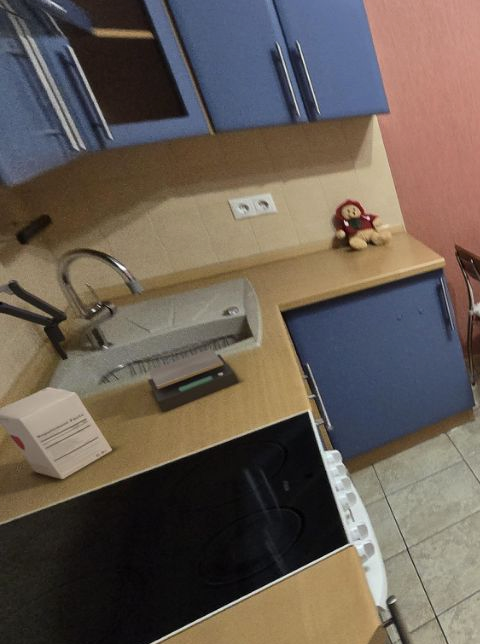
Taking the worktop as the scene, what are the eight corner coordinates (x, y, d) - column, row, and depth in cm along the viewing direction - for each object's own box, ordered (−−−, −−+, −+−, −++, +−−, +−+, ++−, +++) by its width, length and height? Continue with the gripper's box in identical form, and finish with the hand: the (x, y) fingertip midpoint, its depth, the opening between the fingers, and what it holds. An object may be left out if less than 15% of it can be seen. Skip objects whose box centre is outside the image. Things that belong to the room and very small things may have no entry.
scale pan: (150, 373, 131) (148, 370, 130) (212, 351, 139) (211, 348, 139) (157, 389, 123) (156, 386, 123) (223, 364, 132) (222, 362, 131)
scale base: (153, 390, 132) (146, 378, 131) (224, 363, 142) (218, 352, 141) (163, 412, 123) (157, 400, 121) (239, 382, 133) (233, 370, 131)
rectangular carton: (33, 473, 106) (-12, 412, 100) (87, 443, 114) (48, 385, 108) (61, 480, 103) (16, 418, 97) (114, 450, 111) (76, 391, 105)
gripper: (-186, 299, 80) (-91, 414, 89) (45, 249, 96) (105, 350, 105) (-175, 289, 85) (-86, 398, 94) (43, 243, 101) (101, 340, 110)
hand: (15, 373), depth 100 cm, fingers open, 13 cm apart
